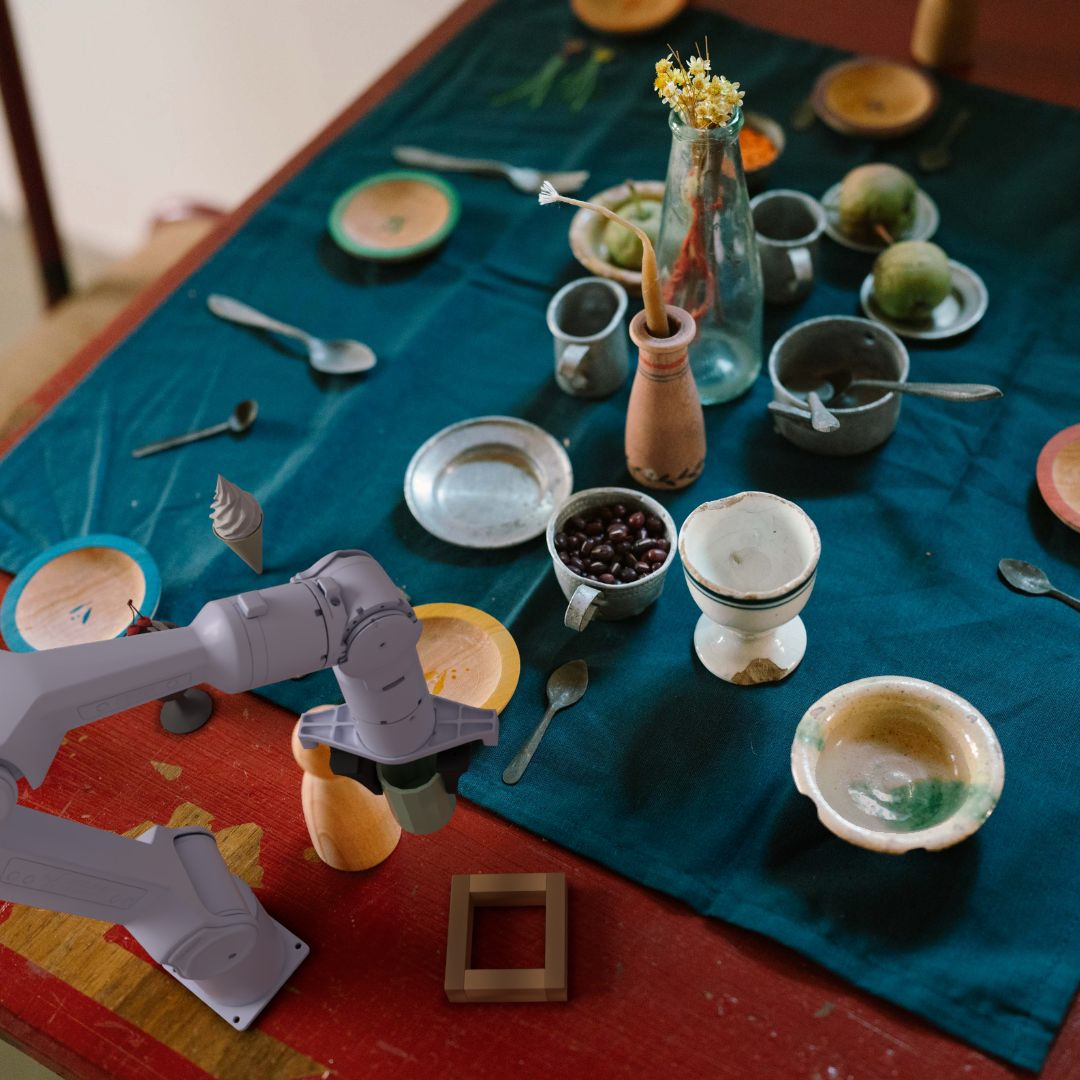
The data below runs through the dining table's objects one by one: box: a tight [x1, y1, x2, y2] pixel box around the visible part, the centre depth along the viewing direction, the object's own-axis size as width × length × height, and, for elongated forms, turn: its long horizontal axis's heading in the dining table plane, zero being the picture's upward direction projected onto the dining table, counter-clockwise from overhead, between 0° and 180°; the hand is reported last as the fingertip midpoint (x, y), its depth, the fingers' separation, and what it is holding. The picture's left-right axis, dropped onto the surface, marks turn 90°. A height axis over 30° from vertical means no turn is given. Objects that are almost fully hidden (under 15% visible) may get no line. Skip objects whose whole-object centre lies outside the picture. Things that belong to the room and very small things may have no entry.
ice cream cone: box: [208, 473, 264, 575], centre depth 115 cm, size 5×5×15 cm
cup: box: [376, 753, 457, 835], centre depth 92 cm, size 5×5×7 cm
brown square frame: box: [443, 872, 568, 1003], centre depth 92 cm, size 9×9×3 cm
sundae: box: [122, 598, 213, 735], centre depth 105 cm, size 7×7×15 cm
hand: (417, 783), depth 92 cm, fingers closed on cup, 5 cm apart
